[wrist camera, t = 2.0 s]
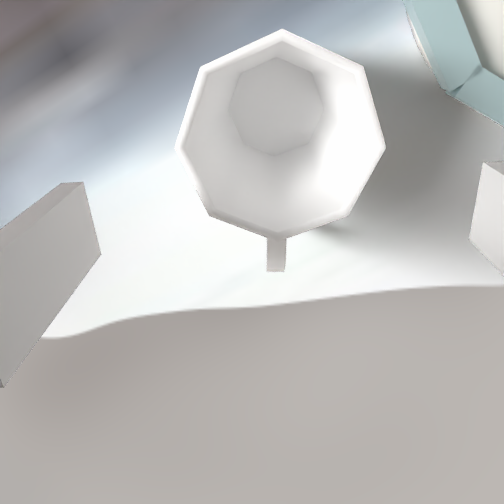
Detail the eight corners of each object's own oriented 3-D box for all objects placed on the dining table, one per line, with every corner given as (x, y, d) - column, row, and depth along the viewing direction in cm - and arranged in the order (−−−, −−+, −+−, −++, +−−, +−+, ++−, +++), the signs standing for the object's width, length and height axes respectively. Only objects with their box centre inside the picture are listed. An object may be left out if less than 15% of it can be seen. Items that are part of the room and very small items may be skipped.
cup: (354, 23, 20) (403, 28, 13) (336, 224, 25) (364, 309, 17) (199, 24, 20) (163, 29, 13) (211, 223, 25) (189, 307, 18)
